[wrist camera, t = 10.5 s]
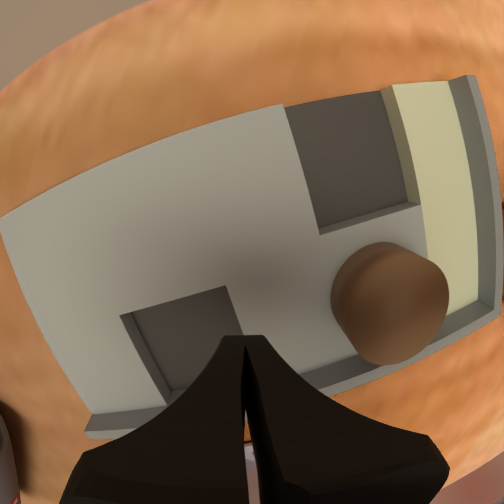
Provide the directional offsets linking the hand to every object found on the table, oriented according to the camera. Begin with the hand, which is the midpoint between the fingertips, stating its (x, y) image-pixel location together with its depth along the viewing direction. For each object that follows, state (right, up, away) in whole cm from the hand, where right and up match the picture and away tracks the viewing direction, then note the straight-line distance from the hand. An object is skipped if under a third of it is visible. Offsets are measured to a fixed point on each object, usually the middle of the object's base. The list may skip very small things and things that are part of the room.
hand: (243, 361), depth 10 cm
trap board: (+1, +3, +7) cm, 7 cm away
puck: (+7, +1, +6) cm, 9 cm away
